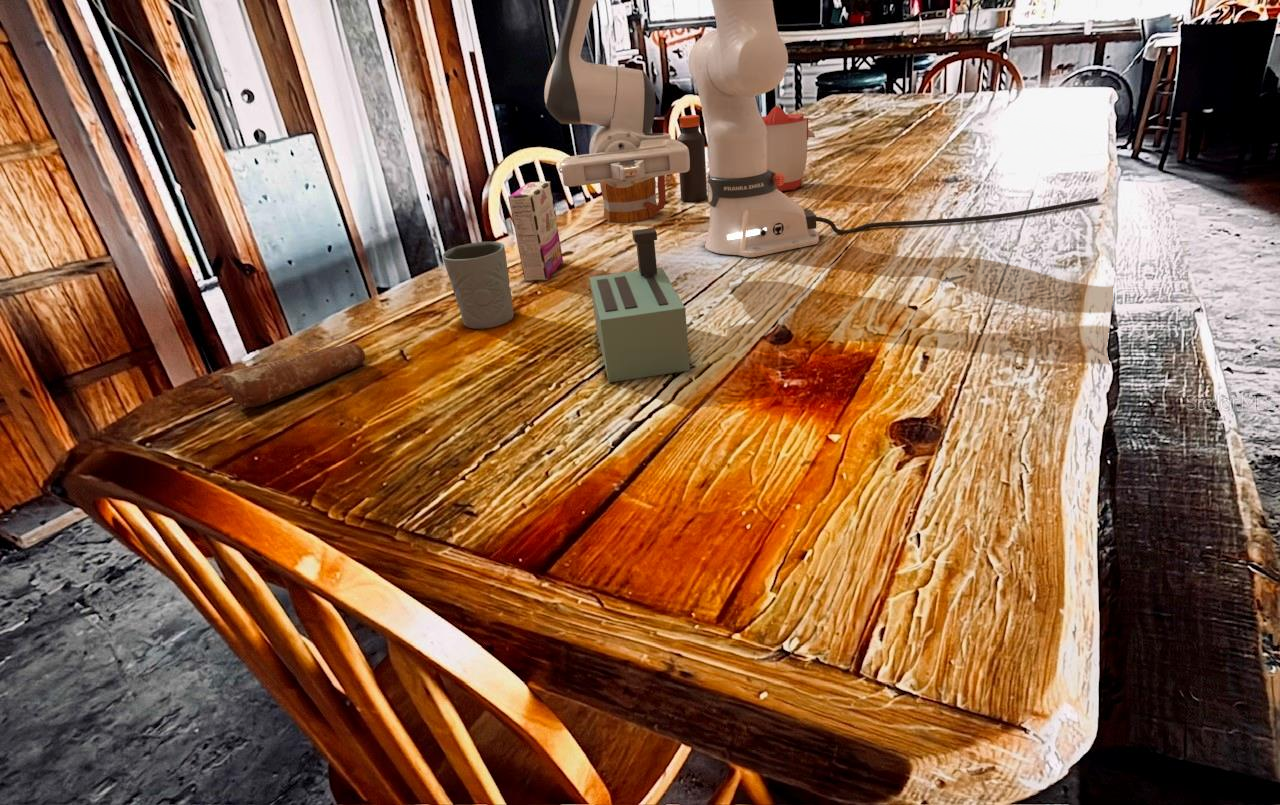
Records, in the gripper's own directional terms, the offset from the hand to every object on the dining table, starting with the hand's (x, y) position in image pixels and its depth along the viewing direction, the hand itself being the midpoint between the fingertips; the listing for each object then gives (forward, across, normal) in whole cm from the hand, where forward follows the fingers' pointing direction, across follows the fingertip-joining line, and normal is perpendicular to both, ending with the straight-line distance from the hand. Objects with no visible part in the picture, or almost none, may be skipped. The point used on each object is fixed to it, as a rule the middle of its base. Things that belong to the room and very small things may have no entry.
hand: (631, 173), depth 105 cm
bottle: (-74, +24, +22) cm, 81 cm away
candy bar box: (-29, -16, +22) cm, 40 cm away
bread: (+10, -52, +22) cm, 57 cm away
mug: (-63, +8, +22) cm, 67 cm away
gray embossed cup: (-7, -26, +22) cm, 35 cm away
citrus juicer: (-74, +47, +22) cm, 90 cm away
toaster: (+15, -3, +22) cm, 27 cm away
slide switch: (+9, 0, +13) cm, 16 cm away
